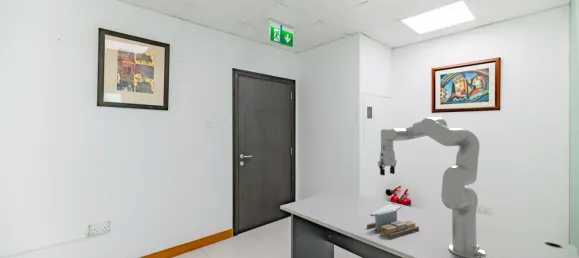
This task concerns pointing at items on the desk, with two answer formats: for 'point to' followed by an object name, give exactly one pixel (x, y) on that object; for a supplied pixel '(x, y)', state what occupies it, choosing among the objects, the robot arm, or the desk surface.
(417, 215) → the desk surface
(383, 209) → the baseboard molding
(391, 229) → the offcut
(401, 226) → the offcut
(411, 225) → the offcut
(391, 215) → the tall sheet
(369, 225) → the offcut rack
